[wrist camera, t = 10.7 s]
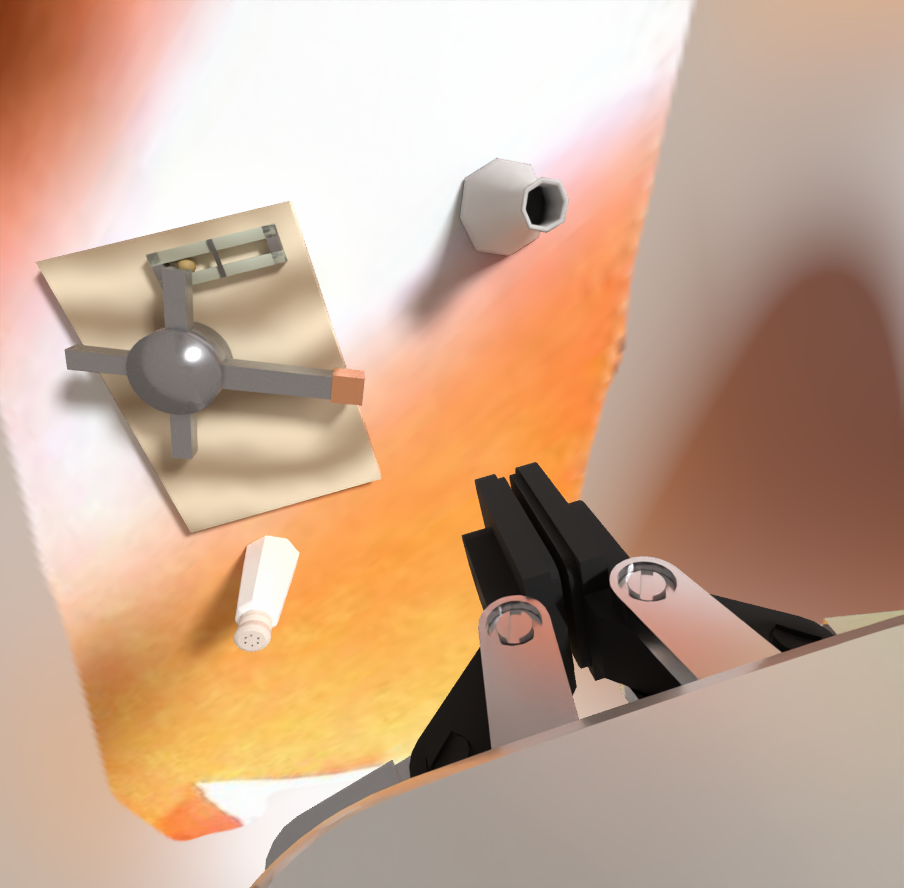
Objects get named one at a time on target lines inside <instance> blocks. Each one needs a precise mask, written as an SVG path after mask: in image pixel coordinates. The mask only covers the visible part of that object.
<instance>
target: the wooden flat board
mask: <svg viewBox="0 0 904 888" xmlns="http://www.w3.org/2000/svg"><path fill="white" fill-rule="evenodd" d="M36 263H37V265H38V267H39V269H40V270H41V272H42V274H43V276H44V277H45V279H46V281H47V282H48V284H49V286H50V288H51V289H52V291H53V293H54V295H55V296H56V298H57V300H58V302H59V303H60V305H61V307H62V309H63V310H64V312H65V314H66V316H67V317H68V319H69V321H70V323H71V324H72V326H73V328H74V330H75V331H76V333H77V335H78V337H79V338H80V340H81V342H82V344H83V345H87V346H96V347H105V348H114V349H123V350H131V348H132V347H133V346H134V345H135V344H136V343H137V342H138V341H139V340H140V339H142V338H144V337H145V336H147V335H149V334H151V333H153V332H154V331H156V330H158V329H160V328H162V327H163V326H165V320H164V302H163V284H162V268H165V267H169V266H171V267H177V268H184V269H191V270H192V289H193V318H194V321H195V322H199V323H202V324H204V325H207V326H209V327H210V328H212V329H213V330H215V331H216V332H217V333H219V334H220V335H221V336H222V337H223V339H224V340H225V341H226V343H227V344H228V346H229V348H230V350H231V353H232V356H233V359H240V360H249V361H257V362H266V363H275V364H284V365H292V366H301V367H310V368H318V369H327V370H333V369H334V368H343V369H347V368H346V365H345V362H344V359H343V356H342V353H341V350H340V347H339V344H338V341H337V338H336V335H335V332H334V329H333V326H332V323H331V320H330V317H329V314H328V311H327V308H326V305H325V302H324V299H323V296H322V293H321V290H320V287H319V284H318V281H317V278H316V275H315V272H314V269H313V266H312V263H311V260H310V257H309V253H308V250H307V247H306V244H305V241H304V238H303V235H302V232H301V229H300V226H299V223H298V220H297V217H296V214H295V211H294V208H293V205H292V202H290V201H288V202H283V203H279V204H275V205H271V206H267V207H263V208H258V209H254V210H250V211H246V212H242V213H238V214H234V215H229V216H225V217H221V218H217V219H213V220H209V221H204V222H200V223H196V224H192V225H188V226H184V227H180V228H175V229H171V230H167V231H163V232H159V233H155V234H150V235H146V236H142V237H138V238H134V239H130V240H126V241H121V242H117V243H113V244H109V245H105V246H101V247H96V248H92V249H88V250H84V251H80V252H76V253H72V254H67V255H63V256H59V257H55V258H51V259H47V260H43V261H38V262H36ZM100 375H101V377H102V379H103V380H104V382H105V384H106V386H107V387H108V389H109V391H110V393H111V394H112V396H113V398H114V400H115V401H116V403H117V405H118V406H119V408H120V410H121V412H122V413H123V415H124V417H125V419H126V420H127V422H128V424H129V426H130V427H131V429H132V431H133V433H134V434H135V436H136V438H137V440H138V441H139V443H140V445H141V447H142V448H143V450H144V452H145V454H146V455H147V457H148V459H149V461H150V462H151V464H152V466H153V468H154V469H155V471H156V473H157V475H158V476H159V478H160V480H161V482H162V483H163V485H164V487H165V489H166V490H167V492H168V494H169V496H170V497H171V499H172V501H173V503H174V504H175V506H176V508H177V510H178V511H179V513H180V515H181V517H182V518H183V520H184V522H185V523H186V525H187V527H188V529H189V530H190V532H191V533H193V532H197V531H200V530H204V529H207V528H211V527H214V526H218V525H221V524H225V523H228V522H232V521H235V520H239V519H242V518H246V517H249V516H253V515H256V514H260V513H263V512H267V511H270V510H274V509H277V508H281V507H284V506H288V505H291V504H295V503H298V502H302V501H305V500H309V499H312V498H316V497H319V496H323V495H326V494H330V493H333V492H337V491H340V490H344V489H347V488H351V487H354V486H358V485H361V484H365V483H368V482H372V481H375V480H379V479H381V472H380V468H379V465H378V462H377V459H376V456H375V453H374V450H373V447H372V444H371V441H370V438H369V435H368V432H367V429H366V426H365V423H364V420H363V417H362V414H361V411H360V408H359V405H351V404H341V403H331V400H329V399H319V398H309V397H299V396H289V395H280V394H270V393H260V392H250V391H240V390H230V389H222V390H221V391H220V392H219V394H218V395H217V396H216V397H215V399H214V400H213V401H212V402H211V403H210V404H209V405H208V406H207V407H206V408H204V409H202V410H200V411H198V412H197V437H198V451H197V453H196V454H195V456H194V457H193V459H181V458H172V444H171V426H170V414H169V413H165V412H162V411H159V410H157V409H155V408H153V407H151V406H150V405H148V404H147V403H145V402H144V401H143V400H142V399H141V398H140V397H139V396H138V395H137V394H136V393H135V392H134V390H133V388H132V387H131V385H130V383H129V380H128V377H127V375H117V374H107V373H100Z"/></svg>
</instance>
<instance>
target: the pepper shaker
mask: <svg viewBox="0 0 904 888" xmlns="http://www.w3.org/2000/svg"><path fill="white" fill-rule="evenodd" d="M298 557H299V552H298V551H297V550H296V548H295V547H294V546H293V545H292V544H291V543H290V542H289V540H288V539H286V538H279V537H272V536H264V537H262V538H260V539H258V540H256V541H255V542H253V543H251V544H249V545H247V549H246V554H245V559H244V565H243V571H242V578H241V584H240V590H239V597H238V603H237V610H236V617H235V622H236V623H237V624H238V627H237V631H236V632H235V635H234V642H235V644H236V645H237V646H238V647H239V648H240V649H242V650H245V651H250V652H253V651H258V650H261V649H263V648H265V647H266V646H267V645H268V644H269V642H270V639H271V629H272V628H273V627H275V626H276V625H277V623H278V621H279V618H280V615H281V612H282V609H283V606H284V602H285V599H286V596H287V593H288V590H289V587H290V584H291V581H292V578H293V575H294V572H295V569H296V565H297V561H298Z"/></svg>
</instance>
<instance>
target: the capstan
mask: <svg viewBox="0 0 904 888" xmlns="http://www.w3.org/2000/svg"><path fill="white" fill-rule="evenodd" d="M162 284H163V302H164V320H165V326H163V327H162V328H160V329H158V330H156V331H154V332H153V333H151V334H149V335H147V336H145V337H144V338H142V339H140V340H139V341H138V342H137V343H136V344H135V345H134V346H133V347H132V348H131V350H123V349H114V348H105V347H96V346H87V345H78V344H76V345H74V346H72V347H69V348H67V349H65V356H66V363H67V369H68V370H78V371H88V372H97V373H107V374H117V375H127V377H128V380H129V383H130V385H131V387H132V388H133V390H134V392H135V393H136V394H137V395H138V396H139V397H140V398H141V399H142V400H143V401H144V402H145V403H147V404H148V405H150V406H151V407H153V408H155V409H157V410H159V411H162V412H165V413H169V414H170V426H171V444H172V458H181V459H193V457H194V456H195V454H196V453H197V451H198V437H197V412H198V411H200V410H202V409H204V408H206V407H207V406H208V405H209V404H210V403H211V402H212V401H213V400H214V399H215V397H216V396H217V395H218V394H219V392H220V391H221V390H222V389H230V390H240V391H250V392H260V393H270V394H280V395H289V396H299V397H309V398H319V399H329V400H331V403H341V404H351V405H361V406H362V399H363V390H364V380H365V377H364V371H360V370H351V369H343V368H334V369H333V370H327V369H318V368H310V367H301V366H292V365H284V364H275V363H266V362H257V361H249V360H240V359H233V356H232V353H231V350H230V348H229V346H228V344H227V343H226V341H225V340H224V339H223V337H222V336H221V335H220V334H219V333H217V332H216V331H215V330H213V329H212V328H210V327H209V326H207V325H204V324H202V323H199V322H195V321H194V318H193V289H192V270H191V269H184V268H177V267H171V266H169V267H165V268H162Z"/></svg>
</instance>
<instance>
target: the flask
mask: <svg viewBox="0 0 904 888" xmlns="http://www.w3.org/2000/svg"><path fill="white" fill-rule="evenodd" d="M568 202H569V200H568V197H567V194H566V192H565V189H564V186H563V184H562V181H561V180H555V179H550V178H545V177H541V178H539V179H537V177H536V174H535V172H534V169H533V167H532V165H531V164H525V163H520V162H515V161H509V160H504V159H499V158H496V159H495V160H493V161H491V162H490V163H488V164H486V165H485V166H483V167H482V168H480V169H478V170H477V171H475V172H474V173H472V174H470V175H469V176H467V177H466V178H465V182H464V190H463V197H462V205H461V213H460V219H461V221H462V223H463V225H464V227H465V230H466V232H467V234H468V236H469V238H470V240H471V242H472V244H473V246H474V248H475V250H476V251H478V252H485V253H492V254H499V255H506V256H509V255H511V254H513V253H514V252H516V251H517V250H519V249H521V248H522V247H524V246H526V245H527V244H529V243H531V242H532V241H534V240H536V239H537V238H538V237H539V234H540V232H545V233H547V232H549V231H550V230H552V229H554V228H555V227H557V226H559V225H560V224H562V223H564V221H565V216H566V211H567V207H568Z"/></svg>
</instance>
